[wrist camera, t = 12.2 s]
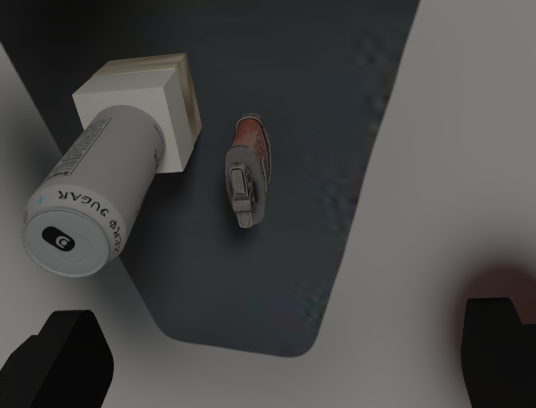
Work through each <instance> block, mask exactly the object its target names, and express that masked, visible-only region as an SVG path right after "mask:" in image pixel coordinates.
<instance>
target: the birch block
mask: <svg viewBox="0 0 536 408" xmlns="http://www.w3.org/2000/svg"><path fill="white" fill-rule="evenodd" d="M167 69H177V72H178V76H179V81H180V85H181V90H182V95H183V99H184V104H185V109H186V113H187V118H188V123H189V127H190V132H191V137H192V141H193V146H194V144H195V142H196V140H197V137H198V135H199V133H200V131H201V129H202V125H201V120H200V115H199V111H198V106H197V101H196V97H195V92H194V87H193V83H192V78H191V73H190V69H189V64H188V59H187V55H186V53H179V54H170V55H160V56H151V57H141V58H132V59H122V60H113V61H108V62H107V63H106V64H105V65H104V66H103V67H102V68H100V69H99V70H98V71H97V72H96V73H95V74H94V75H92V77H93V76H99V75H110V74H122V73H133V72H144V71H155V70H167Z"/></svg>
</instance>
